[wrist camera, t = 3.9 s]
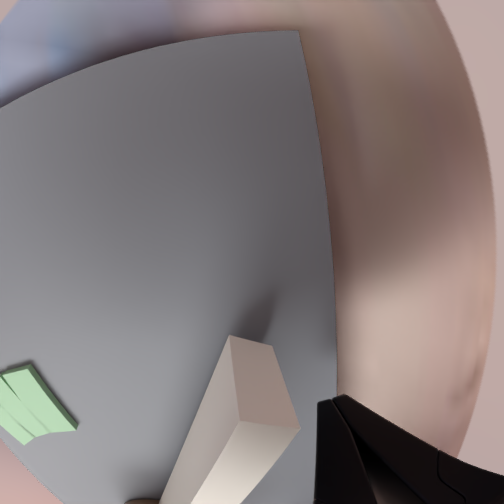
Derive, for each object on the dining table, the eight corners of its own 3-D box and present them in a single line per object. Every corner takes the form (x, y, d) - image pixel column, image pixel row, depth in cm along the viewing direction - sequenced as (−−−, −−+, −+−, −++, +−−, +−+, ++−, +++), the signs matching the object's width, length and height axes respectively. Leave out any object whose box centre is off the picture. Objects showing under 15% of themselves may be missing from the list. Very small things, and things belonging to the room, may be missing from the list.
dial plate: (323, 491, 14) (330, 513, 12) (89, 506, 13) (85, 525, 11) (285, 49, 8) (301, 26, 6) (-80, 181, 6) (-105, 187, 5)
